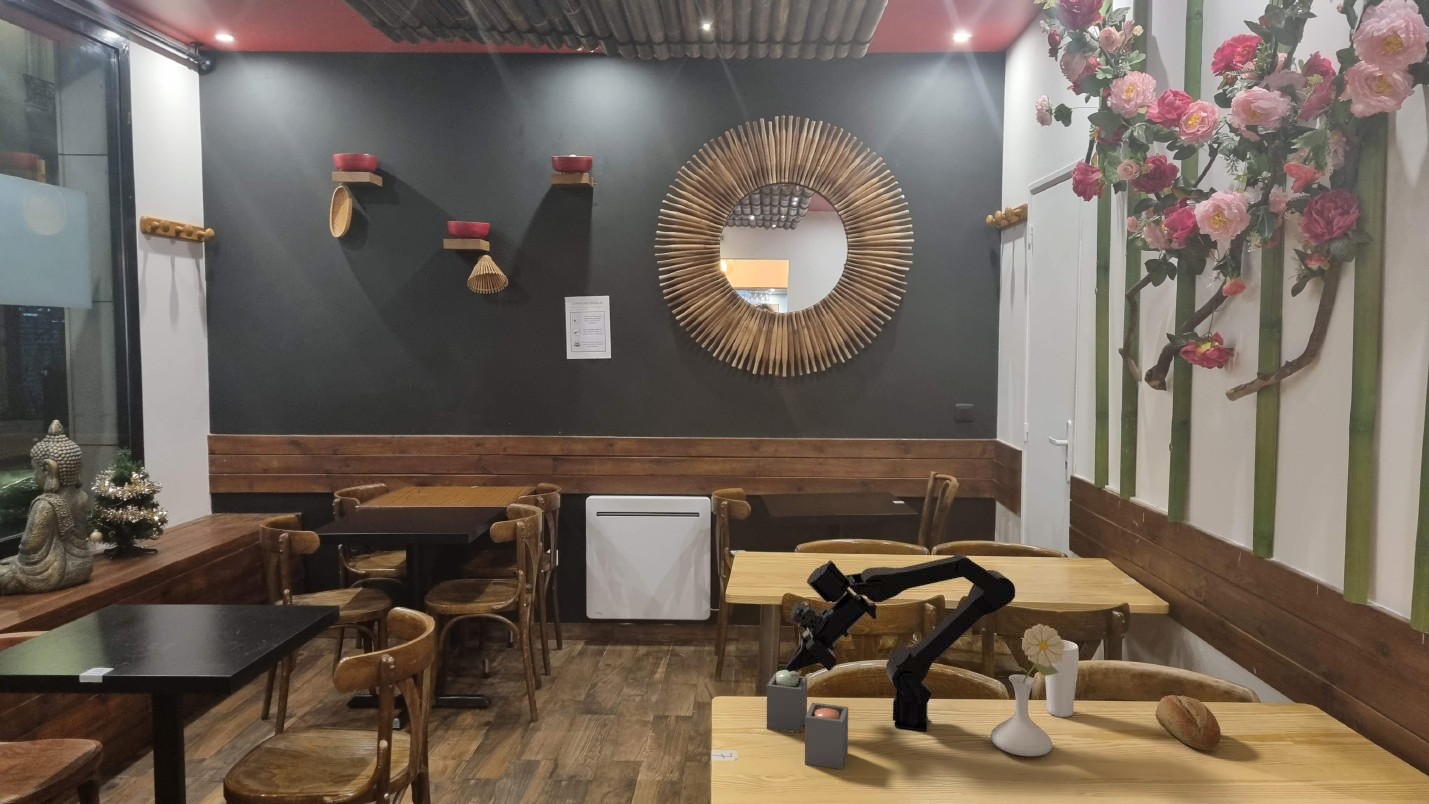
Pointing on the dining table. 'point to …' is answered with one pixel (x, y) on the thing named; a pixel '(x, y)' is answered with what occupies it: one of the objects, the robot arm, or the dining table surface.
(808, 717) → the grey square housing
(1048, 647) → the flower in vase
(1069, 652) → the drinking glass
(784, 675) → the sage button
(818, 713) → the terracotta button
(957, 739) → the dining table surface
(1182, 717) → the bread roll
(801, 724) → the grey square socket
